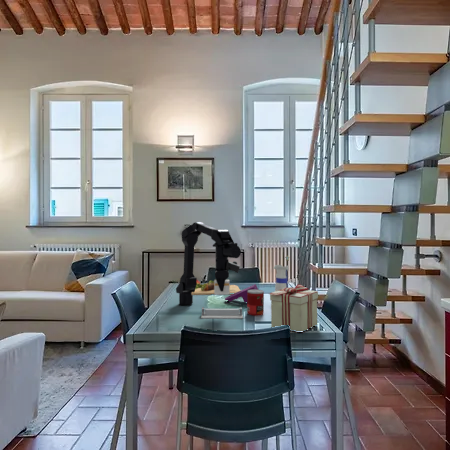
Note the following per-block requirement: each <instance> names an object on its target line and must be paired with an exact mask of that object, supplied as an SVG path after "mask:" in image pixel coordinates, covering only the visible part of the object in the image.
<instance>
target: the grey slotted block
mask: <svg viewBox="0 0 450 450" xmlns="http://www.w3.org/2000/svg"><path fill="white" fill-rule="evenodd" d="M230 281H231V280H230V279H226V280H225V284H224V289H223V291H220V288H219V286H218V283H217V281H216V280H215V279H214V280H213V282H214V295H217V296H218V295H221V296H222V295H231V294H230V285H231V284H230Z"/></svg>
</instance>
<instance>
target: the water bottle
mask: <svg viewBox="0 0 450 450" xmlns="http://www.w3.org/2000/svg"><path fill="white" fill-rule="evenodd" d="M284 259H285V261H289V260H290V256H288V255H286V256H285V258H284ZM272 269H274V270H276V274H275V284H274V285H275V286H274V287H275V288H274V292H275V291H278V290H280V289H284V288H289V283H288V279H289V275H288V272H289V271H290V268H289V265H286V266H283V265H282V264H275V265H274V267H273V268H272Z"/></svg>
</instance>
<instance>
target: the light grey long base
mask: <svg viewBox="0 0 450 450" xmlns="http://www.w3.org/2000/svg"><path fill="white" fill-rule="evenodd" d="M243 316H244V315H243V308H242V306H241V307H239V308H205V307H204V306H203V307H201V315H200V319H244V317H243Z"/></svg>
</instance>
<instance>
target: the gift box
mask: <svg viewBox="0 0 450 450" xmlns="http://www.w3.org/2000/svg"><path fill="white" fill-rule="evenodd" d="M269 299H270V305H271V307H270V313H271V315H270V317H271V318H270V320H271V323H270V324H271V328H272V327H275V326H281V325H289V326H290V329H291V330H296V331H304V330H307V329H309V328H311V327H313V326H315V325H317V326H318V299H319V292H318V291H317V290H310V289H309V288H307V287H305V286H303V285H302V284H296V286H295V287H293V286H292V287H290V286H288V288H284V289H280V290H278V291H275V290H274V291H272V292H270V293H269ZM315 327H316V326H315ZM313 328H314V327H313ZM311 329H312V328H311ZM309 330H310V329H309ZM307 331H308V330H307Z"/></svg>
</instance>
